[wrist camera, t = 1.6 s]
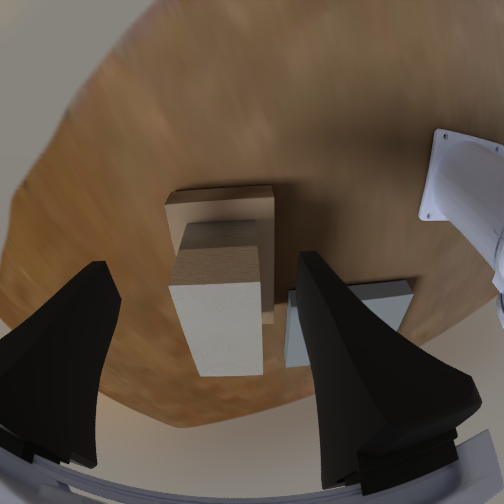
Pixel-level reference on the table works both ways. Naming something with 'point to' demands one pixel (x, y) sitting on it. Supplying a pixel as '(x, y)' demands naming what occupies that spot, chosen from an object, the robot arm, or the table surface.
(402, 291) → the stand
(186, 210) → the stand
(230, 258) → the block
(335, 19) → the table surface
